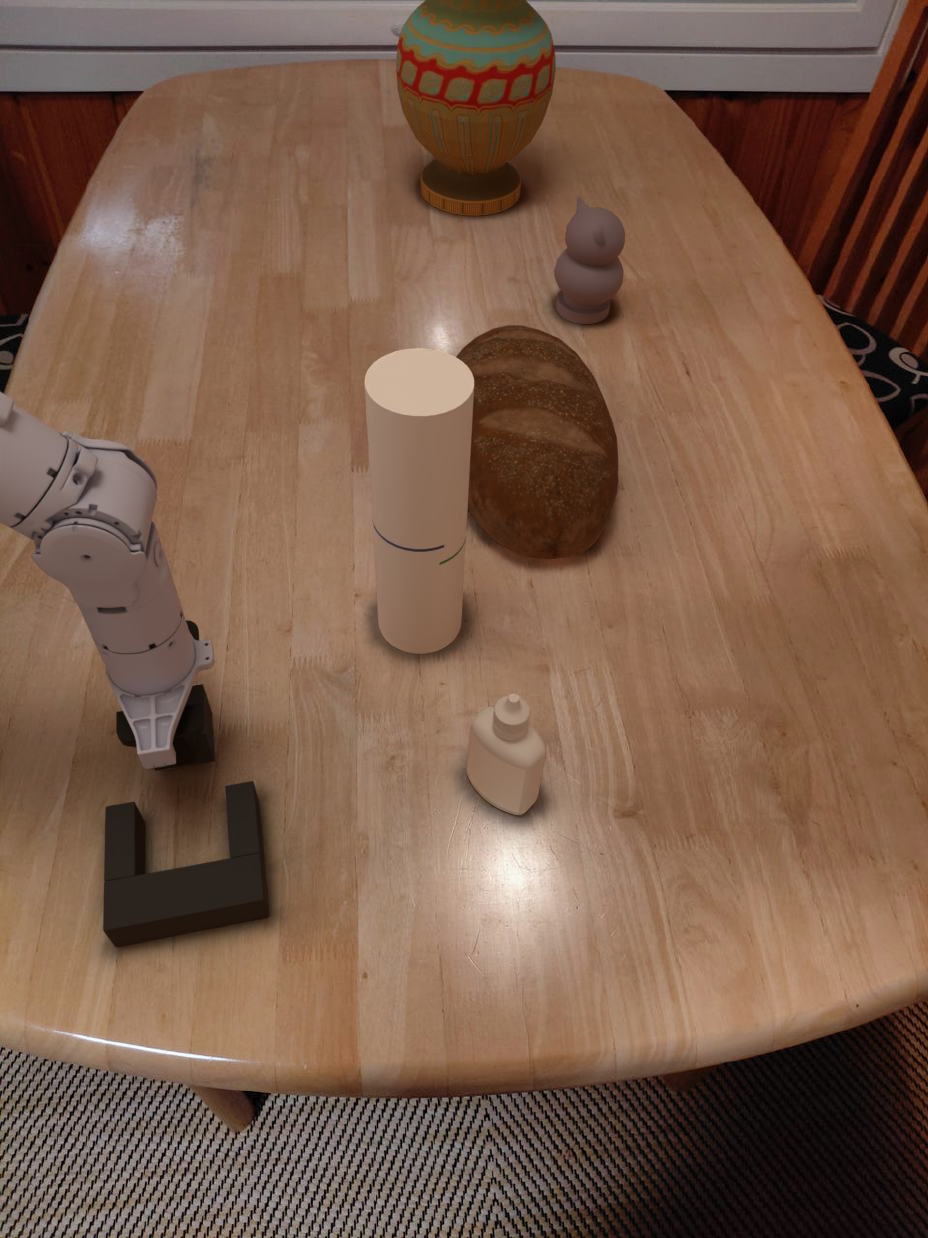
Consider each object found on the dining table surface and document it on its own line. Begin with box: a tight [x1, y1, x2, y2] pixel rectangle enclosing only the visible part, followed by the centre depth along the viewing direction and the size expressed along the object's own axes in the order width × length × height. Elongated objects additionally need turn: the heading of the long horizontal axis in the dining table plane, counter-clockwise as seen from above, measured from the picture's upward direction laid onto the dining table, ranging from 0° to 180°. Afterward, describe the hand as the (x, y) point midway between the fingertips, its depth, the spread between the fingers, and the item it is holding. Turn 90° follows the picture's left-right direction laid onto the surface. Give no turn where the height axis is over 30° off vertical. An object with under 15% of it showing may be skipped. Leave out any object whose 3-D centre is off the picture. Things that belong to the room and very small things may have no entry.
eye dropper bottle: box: [466, 693, 547, 816], centre depth 66 cm, size 4×6×12 cm
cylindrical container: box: [364, 347, 474, 655], centre depth 70 cm, size 7×7×25 cm
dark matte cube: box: [153, 683, 216, 772], centre depth 69 cm, size 4×4×4 cm
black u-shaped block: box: [102, 780, 271, 948], centre depth 64 cm, size 10×9×3 cm
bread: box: [455, 324, 619, 561], centre depth 89 cm, size 16×29×11 cm, turn 9°
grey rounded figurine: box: [553, 195, 626, 325], centre depth 106 cm, size 8×8×12 cm
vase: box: [395, 0, 557, 217], centre depth 116 cm, size 20×20×30 cm
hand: (179, 732), depth 70 cm, fingers closed on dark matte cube, 4 cm apart
